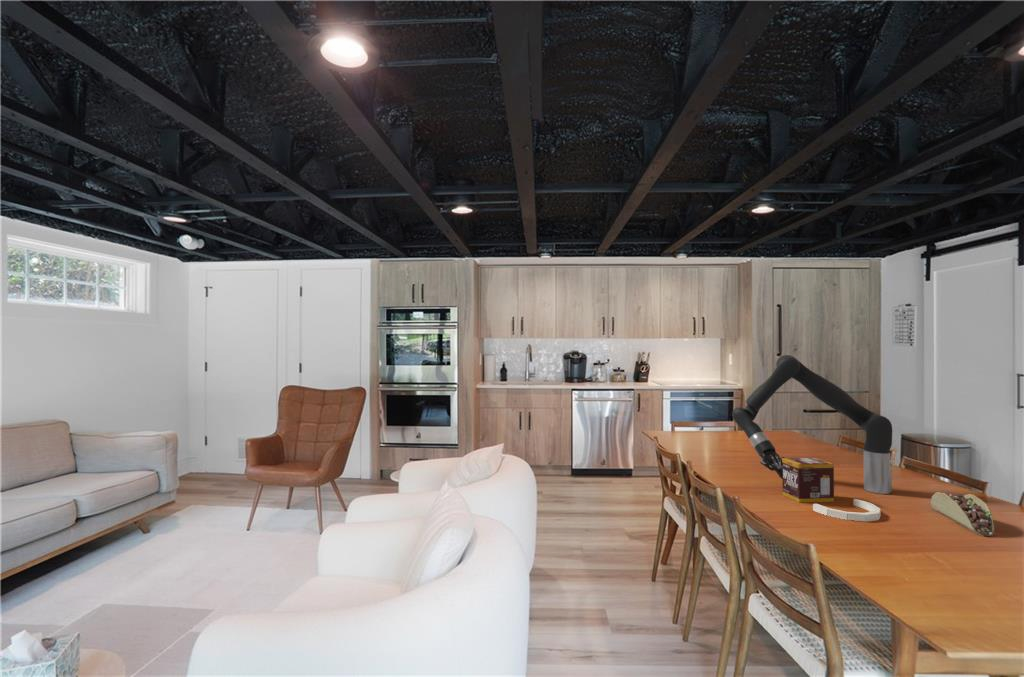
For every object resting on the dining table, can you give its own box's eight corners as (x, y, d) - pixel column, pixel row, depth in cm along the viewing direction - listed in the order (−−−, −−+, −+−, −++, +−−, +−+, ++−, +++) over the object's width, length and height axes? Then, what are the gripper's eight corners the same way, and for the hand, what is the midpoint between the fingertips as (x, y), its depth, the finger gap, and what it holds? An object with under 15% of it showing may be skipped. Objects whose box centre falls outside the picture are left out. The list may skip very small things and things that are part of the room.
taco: (953, 511, 179) (953, 485, 179) (1005, 539, 153) (1004, 508, 153) (923, 509, 182) (922, 483, 182) (969, 536, 156) (968, 505, 156)
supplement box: (781, 494, 198) (781, 457, 198) (815, 494, 199) (815, 457, 200) (798, 502, 188) (798, 464, 188) (834, 502, 189) (834, 463, 189)
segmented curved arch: (856, 505, 185) (856, 498, 185) (895, 517, 172) (895, 510, 172) (813, 510, 179) (812, 504, 179) (849, 524, 165) (849, 517, 165)
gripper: (754, 440, 212) (777, 474, 200) (778, 438, 216) (801, 472, 204) (746, 449, 217) (767, 483, 205) (768, 448, 221) (791, 481, 209)
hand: (784, 477), depth 204 cm, fingers closed
